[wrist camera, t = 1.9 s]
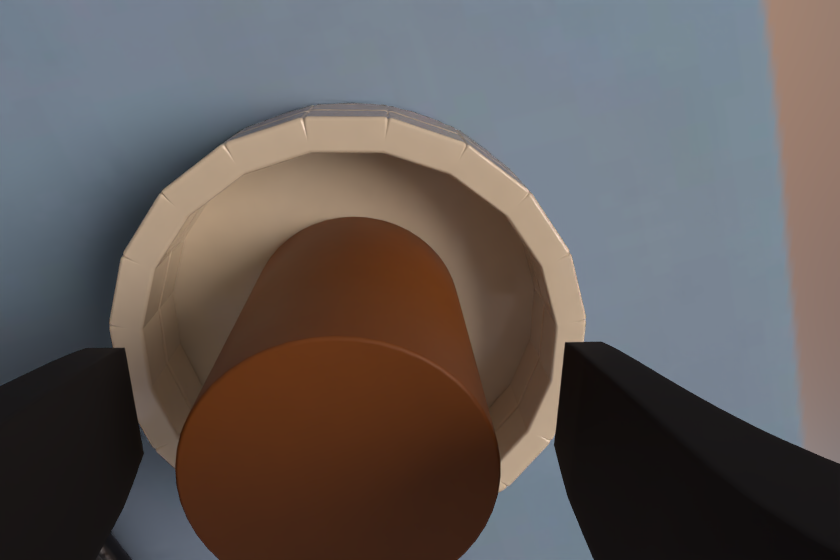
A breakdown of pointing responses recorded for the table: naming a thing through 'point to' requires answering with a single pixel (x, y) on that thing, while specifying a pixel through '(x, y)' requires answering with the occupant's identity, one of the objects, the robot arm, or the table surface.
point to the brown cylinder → (343, 409)
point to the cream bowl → (335, 198)
